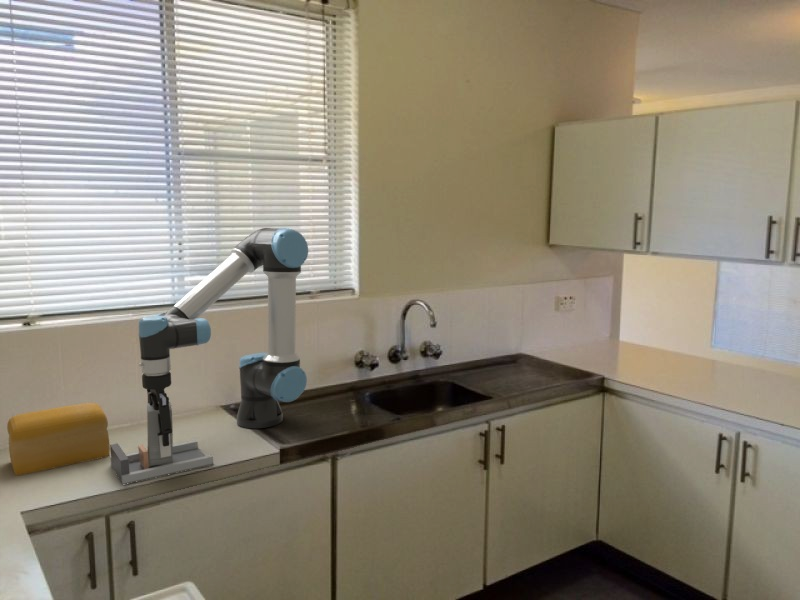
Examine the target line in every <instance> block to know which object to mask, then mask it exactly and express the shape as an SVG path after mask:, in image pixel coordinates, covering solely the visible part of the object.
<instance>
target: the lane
mask: <svg viewBox="0 0 800 600" xmlns="http://www.w3.org/2000/svg"><path fill="white" fill-rule="evenodd" d="M147 451H148V449H147ZM109 452H110V467H111V468H112V470H113V472H114V473H115V474H117V475H116V476H117V478H118V477H119V478H118V479H120V480H119V481H120V483H121V482H122V483H121V485H123V484H127V483H131V482H135V483H137V482H136V481H140V482H143V481H142V480H144V481H147V480H146V479H149V480H151V479H150V478H153V479H156V478H155V477H157V478H160V476H162V477H165V476H164V475H166V476H169V475H168V474H171V475H174V474H173V473H175V474H177V473H176V472H179V473H182V472H181V471H184V472H186V471H185V470H188V471H191V470H190V469H193V470H196V468H197V469H201V468H205V467H204V466H206V467H209V465H210V466H214V465H215V464H214V456H213V455H212V454H209V455H206V454H204V452H203V451H202V450H201V449H200V448H199V444H198V440H196V439H195V440H190V441H185V442H181V443H175V444H174V443H173V463H170V464H162V465H154V466H149V469H144V468H143V467H142V466H141V464H140V463H139V451H136V452H130V453H127V454H126V453H125V452H124V450H123V449H122V447H121V446H120V444H119V443H118V442H117V443H112V444H110V451H109ZM200 467H201V468H200ZM131 484H132V483H131ZM127 485H128V484H127Z"/></svg>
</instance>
